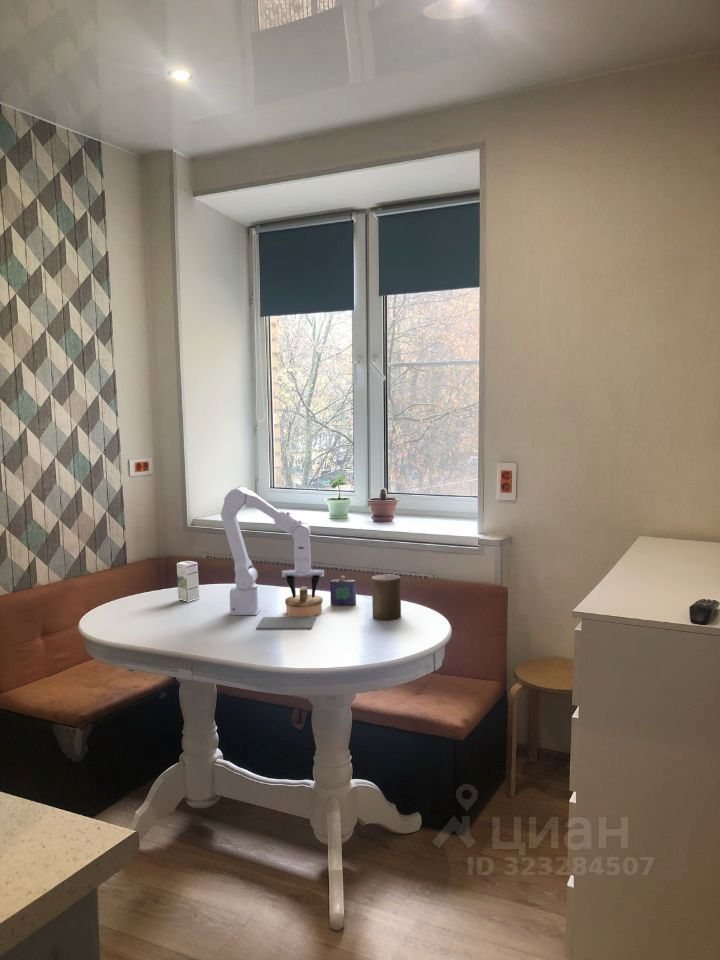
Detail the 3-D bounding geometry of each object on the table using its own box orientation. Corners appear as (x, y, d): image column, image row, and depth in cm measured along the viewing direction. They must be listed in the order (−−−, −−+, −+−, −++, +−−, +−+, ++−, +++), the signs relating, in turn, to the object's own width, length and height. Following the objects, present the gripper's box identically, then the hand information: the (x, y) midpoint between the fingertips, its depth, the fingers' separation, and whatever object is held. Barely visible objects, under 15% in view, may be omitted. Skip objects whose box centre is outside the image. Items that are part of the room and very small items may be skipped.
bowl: (284, 616, 249) (284, 606, 249) (289, 607, 261) (289, 597, 261) (319, 616, 249) (319, 606, 248) (323, 607, 260) (322, 597, 260)
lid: (282, 607, 248) (282, 593, 248) (288, 597, 261) (287, 583, 261) (320, 607, 248) (320, 592, 247) (324, 597, 261) (324, 583, 260)
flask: (356, 603, 264) (355, 574, 263) (355, 605, 261) (355, 576, 260) (330, 604, 265) (330, 575, 264) (330, 606, 262) (329, 576, 261)
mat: (256, 629, 236) (256, 627, 236) (263, 618, 248) (263, 617, 248) (311, 629, 235) (311, 627, 235) (315, 618, 247) (315, 616, 247)
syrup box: (200, 599, 275) (198, 561, 274) (187, 602, 270) (185, 564, 269) (190, 597, 279) (188, 559, 277) (177, 600, 274) (176, 562, 272)
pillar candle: (400, 620, 242) (399, 576, 240) (370, 620, 243) (370, 576, 242) (401, 613, 251) (401, 570, 250) (373, 612, 253) (373, 569, 251)
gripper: (280, 561, 249) (281, 599, 251) (322, 560, 249) (323, 599, 250) (283, 556, 256) (284, 594, 258) (324, 556, 256) (325, 594, 257)
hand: (303, 596), depth 254 cm, fingers open, 6 cm apart
